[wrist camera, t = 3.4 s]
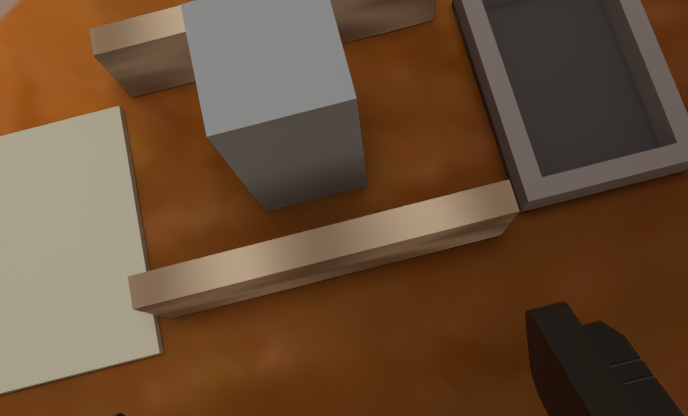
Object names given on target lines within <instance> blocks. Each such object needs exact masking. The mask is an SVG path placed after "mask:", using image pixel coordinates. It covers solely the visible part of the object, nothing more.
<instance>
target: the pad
mask: <svg viewBox="0 0 688 416" xmlns="http://www.w3.org/2000/svg"><path fill="white" fill-rule="evenodd" d="M147 271H150V267H149V261H148V255H147V248H146V242H145V236H144V230H143V224H142V218H141V212H140V206H139V200H138V194H137V188H136V182H135V176H134V170H133V164H132V158H131V151H130V145H129V139H128V133H127V127H126V121H125V115H124V110H123V109H122V108H121V107H120V106H116V107H113V108H109V109H105V110H101V111H97V112H93V113H89V114H85V115H81V116H78V117H74V118H70V119H66V120H62V121H58V122H54V123H50V124H46V125H42V126H39V127H35V128H31V129H27V130H23V131H19V132H15V133H11V134H7V135H4V136H0V395H2V394H5V393H9V392H13V391H17V390H21V389H25V388H29V387H33V386H37V385H41V384H45V383H49V382H53V381H57V380H61V379H65V378H69V377H73V376H77V375H81V374H84V373H88V372H92V371H96V370H100V369H104V368H108V367H112V366H116V365H120V364H124V363H128V362H132V361H136V360H140V359H144V358H148V357H152V356H156V355H160V354H163V353H164V352H163V346H162V339H161V333H160V327H159V321H158V316H157V315H153V314H149V313H145V312H141V311H137V310H133V308H132V301H131V295H130V288H129V282H128V276H132V275H136V274H139V273H143V272H147Z"/></svg>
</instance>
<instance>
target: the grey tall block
mask: <svg viewBox="0 0 688 416" xmlns="http://www.w3.org/2000/svg"><path fill="white" fill-rule="evenodd" d="M180 5H181V10H182V15H183V20H184V25H185V30H186V35H187V40H188V45H189V50H190V55H191V60H192V65H193V70H194V75H195V80H196V85H197V90H198V95H199V100H200V106H201V111H202V116H203V121H204V126H205V131H206V136H207V138H208V139H209V140H210V142H211V143H212V144H213V145H214V147H215V148H216V149H217V151H218V152H219V153H220V154H221V156H222V157H223V158H224V160H225V161H226V162H227V163H228V165H229V166H230V167H231V169H232V170H233V171H234V172H235V174H236V175H237V176H238V178H239V179H240V180H241V181H242V183H243V184H244V185H245V187H246V188H247V189H248V190H249V192H250V193H251V194H252V196H253V197H254V198H255V199H256V201H257V202H258V203H259V205H260V206H261V207H262V208H263V210H264V211H265V212H267V211H271V210H275V209H279V208H283V207H287V206H291V205H295V204H299V203H303V202H307V201H310V200H314V199H318V198H322V197H326V196H330V195H334V194H338V193H342V192H346V191H350V190H354V189H358V188H362V187H365V186H368V183H367V175H366V167H365V159H364V152H363V144H362V136H361V128H360V121H359V113H358V105H357V98H356V94H355V90H354V87H353V83H352V79H351V76H350V72H349V68H348V65H347V61H346V57H345V53H344V50H343V46H342V42H341V39H340V35H339V31H338V27H337V24H336V20H335V16H334V13H333V9H332V5H331V1H330V0H196V1H192V2H188V3H184V4H180Z"/></svg>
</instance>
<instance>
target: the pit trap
mask: <svg viewBox="0 0 688 416" xmlns="http://www.w3.org/2000/svg"><path fill="white" fill-rule="evenodd" d="M452 7H453V10H454V13H455V17H456V20H457V23H458V26H459V29H460V32H461V35H462V38H463V41H464V44H465V47H466V50H467V53H468V56H469V59H470V62H471V66H472V69H473V72H474V75H475V78H476V81H477V84H478V87H479V90H480V93H481V96H482V99H483V102H484V105H485V108H486V112H487V115H488V118H489V121H490V124H491V127H492V130H493V133H494V136H495V139H496V142H497V145H498V148H499V151H500V154H501V157H502V161H503V164H504V167H505V170H506V173H507V176H508V179H509V180H510V183H511V186H512V189H513V193H514V196H515V199H516V202H517V205H518V208H519V213H522V212H526V211H530V210H533V209H537V208H541V207H545V206H549V205H553V204H557V203H561V202H565V201H569V200H573V199H577V198H581V197H585V196H589V195H593V194H596V193H600V192H604V191H608V190H612V189H616V188H620V187H624V186H628V185H632V184H636V183H640V182H644V181H648V180H652V179H656V178H660V177H663V176H667V175H671V174H675V173H679V172H683V171H686V170H687V169H688V113H687V111H686V109H685V106H684V104H683V101H682V99H681V97H680V94H679V92H678V89H677V87H676V84H675V82H674V80H673V77H672V75H671V72H670V70H669V68H668V65H667V63H666V60H665V58H664V56H663V53H662V51H661V48H660V46H659V44H658V41H657V39H656V36H655V34H654V32H653V29H652V27H651V24H650V22H649V20H648V17H647V15H646V12H645V10H644V7H643V5H642V3H641V0H453V1H452Z"/></svg>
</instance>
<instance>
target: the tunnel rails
mask: <svg viewBox="0 0 688 416" xmlns="http://www.w3.org/2000/svg"><path fill="white" fill-rule="evenodd" d="M330 1H331V5H332V9H333V13H334V16H335V20H336V24H337V27H338V31H339V35H340V39H341V42H342V44H343V43H347V42H351V41H355V40H359V39H363V38H367V37H371V36H374V35H378V34H382V33H386V32H390V31H394V30H398V29H402V28H406V27H409V26H413V25H417V24H421V23H425V22H429V21H433V19H434V11H435V2H436V0H330ZM89 31H90V37H91V43H92V50H93V56H94V57H95V58H96V59H97V60H98V61H99V62H100V63H101V64H102V65H103V66H104V67H105V68H106V69H107V71H108V72H109V73H110V74H111V75H112V76H113V77H114V78H115V79H116V80H117V81H118V82H119V83H120V84H121V86H122V87H123V88H124V89H125V90H126V91H127V92H128V93H129V94H130V95H131V96H132V97H137V96H141V95H145V94H149V93H153V92H156V91H160V90H164V89H168V88H172V87H176V86H180V85H184V84H188V83H191V82H195V81H196V80H195V75H194V70H193V65H192V60H191V55H190V50H189V45H188V40H187V35H186V30H185V25H184V20H183V15H182V10H181V5H180V6H176V7H172V8H169V9H165V10H161V11H157V12H153V13H149V14H145V15H141V16H138V17H134V18H130V19H126V20H122V21H118V22H114V23H110V24H107V25H103V26H99V27H95V28H91V29H89ZM518 213H519V208H518V205H517V202H516V199H515V196H514V193H513V189H512V186H511V183H510V180H505V181H501V182H497V183H493V184H489V185H485V186H481V187H478V188H474V189H470V190H466V191H462V192H458V193H454V194H450V195H446V196H442V197H438V198H434V199H430V200H426V201H423V202H419V203H415V204H411V205H407V206H403V207H399V208H395V209H391V210H387V211H383V212H379V213H375V214H371V215H367V216H364V217H360V218H356V219H352V220H348V221H344V222H340V223H336V224H332V225H328V226H324V227H320V228H316V229H312V230H308V231H305V232H301V233H297V234H293V235H289V236H285V237H281V238H277V239H273V240H269V241H265V242H261V243H257V244H253V245H250V246H246V247H242V248H238V249H234V250H230V251H226V252H222V253H218V254H214V255H210V256H206V257H202V258H198V259H194V260H191V261H187V262H183V263H179V264H175V265H171V266H167V267H163V268H159V269H155V270H151V271H147V272H143V273H139V274H136V275H132V276H128V282H129V288H130V295H131V301H132V308H133V310H137V311H141V312H145V313H149V314H153V315H157V316H161V317H165V318H168V319H172V318H176V317H180V316H184V315H188V314H192V313H196V312H200V311H204V310H208V309H212V308H216V307H220V306H224V305H227V304H231V303H235V302H239V301H243V300H247V299H251V298H255V297H259V296H263V295H267V294H271V293H275V292H279V291H283V290H287V289H291V288H295V287H298V286H302V285H306V284H310V283H314V282H318V281H322V280H326V279H330V278H334V277H338V276H342V275H346V274H350V273H354V272H358V271H362V270H365V269H369V268H373V267H377V266H381V265H385V264H389V263H393V262H397V261H401V260H405V259H409V258H413V257H417V256H421V255H425V254H429V253H433V252H436V251H440V250H444V249H448V248H452V247H456V246H460V245H464V244H468V243H472V242H476V241H480V240H484V239H488V238H492V237H496V236H500V235H502V233H503V232H504V231H505V229H506V228H507V227H508V226H509V224H510V223H511V222H512V220H513V219H514V218H515V216H516V215H517V214H518Z"/></svg>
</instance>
